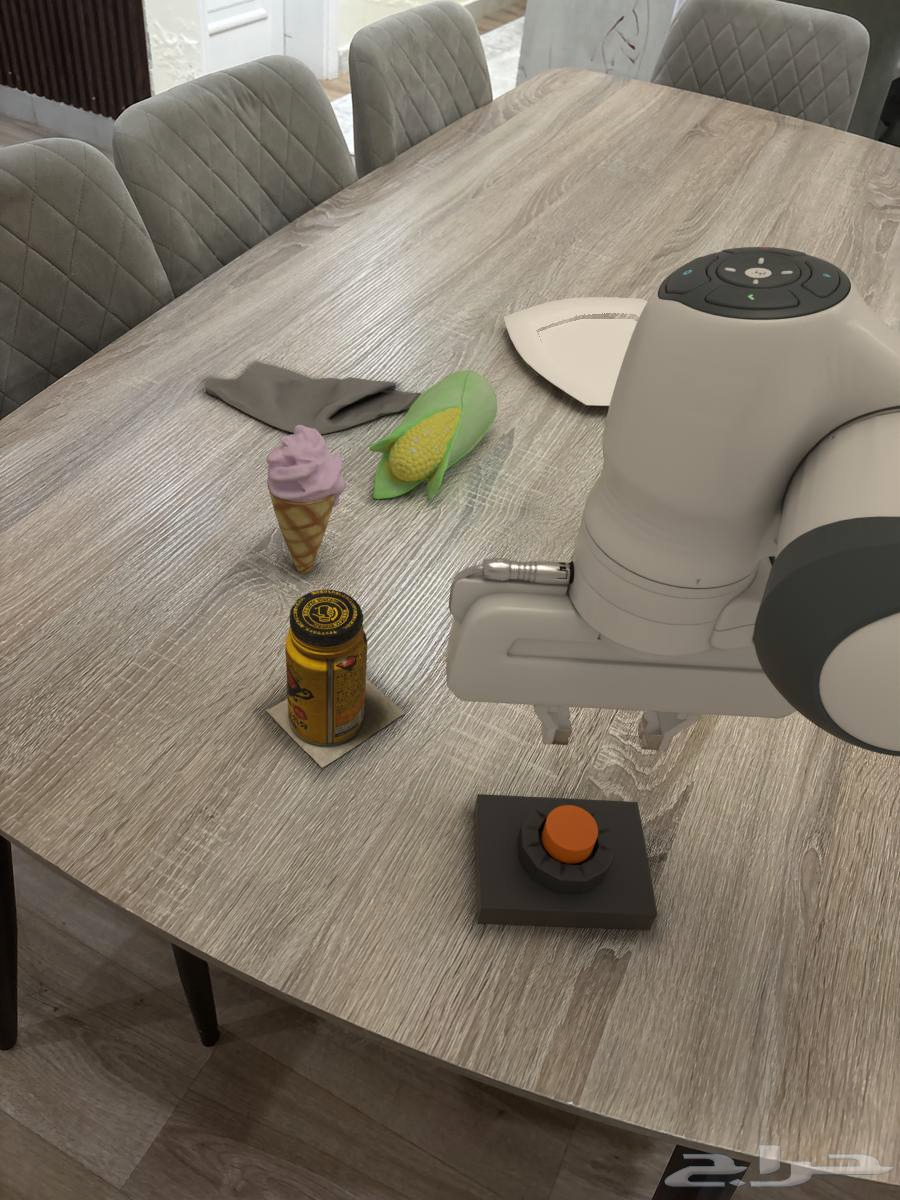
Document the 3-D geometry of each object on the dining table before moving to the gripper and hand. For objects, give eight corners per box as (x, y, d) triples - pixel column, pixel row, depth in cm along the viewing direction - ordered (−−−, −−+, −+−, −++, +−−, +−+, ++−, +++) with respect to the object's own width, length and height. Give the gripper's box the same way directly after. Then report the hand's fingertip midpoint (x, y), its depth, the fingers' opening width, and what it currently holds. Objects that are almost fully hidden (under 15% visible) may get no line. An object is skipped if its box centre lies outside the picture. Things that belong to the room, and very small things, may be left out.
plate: (576, 433, 109) (579, 419, 107) (476, 322, 126) (478, 309, 124) (759, 399, 118) (764, 385, 117) (644, 300, 135) (647, 288, 134)
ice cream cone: (334, 543, 91) (337, 410, 80) (350, 586, 87) (355, 451, 76) (265, 552, 89) (258, 417, 78) (278, 597, 85) (273, 460, 74)
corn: (528, 397, 104) (444, 492, 91) (484, 433, 110) (399, 526, 97) (478, 340, 102) (386, 428, 89) (436, 379, 108) (344, 467, 95)
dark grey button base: (631, 818, 71) (643, 787, 68) (649, 930, 65) (664, 901, 62) (473, 810, 70) (480, 779, 68) (477, 923, 64) (484, 894, 61)
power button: (589, 819, 67) (594, 805, 65) (596, 865, 64) (601, 851, 63) (539, 817, 66) (543, 803, 65) (543, 863, 64) (548, 849, 62)
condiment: (265, 712, 75) (259, 605, 67) (348, 663, 80) (351, 557, 72) (322, 770, 72) (322, 664, 63) (405, 715, 76) (415, 610, 68)
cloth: (183, 417, 103) (181, 400, 102) (224, 356, 113) (223, 339, 112) (416, 457, 102) (417, 439, 101) (436, 392, 112) (438, 375, 110)
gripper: (455, 601, 45) (431, 773, 54) (870, 627, 46) (776, 790, 56) (453, 517, 49) (432, 689, 59) (831, 543, 51) (750, 707, 60)
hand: (602, 738), depth 57 cm, fingers open, 5 cm apart
